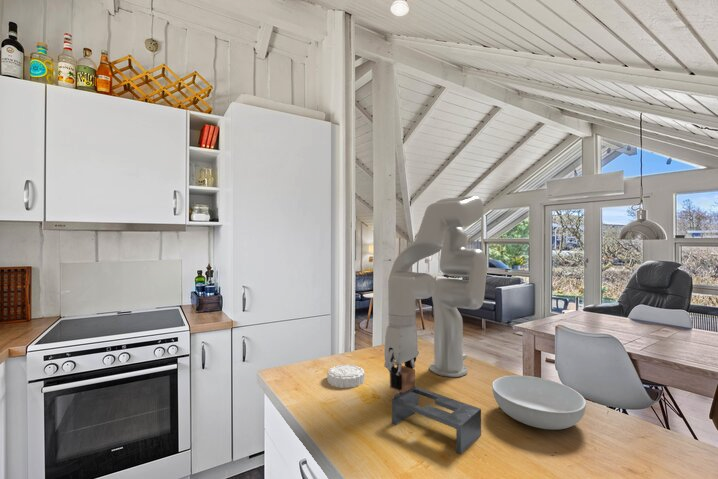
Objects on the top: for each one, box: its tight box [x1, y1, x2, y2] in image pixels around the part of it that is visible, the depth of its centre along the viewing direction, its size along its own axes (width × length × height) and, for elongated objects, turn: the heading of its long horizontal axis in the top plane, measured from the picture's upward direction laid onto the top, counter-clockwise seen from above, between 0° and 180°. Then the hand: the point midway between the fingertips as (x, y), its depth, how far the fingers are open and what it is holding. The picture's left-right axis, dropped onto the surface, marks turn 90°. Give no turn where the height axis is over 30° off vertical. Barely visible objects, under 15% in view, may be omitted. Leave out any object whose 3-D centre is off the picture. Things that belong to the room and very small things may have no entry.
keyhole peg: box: [389, 365, 416, 399], centre depth 95 cm, size 5×5×8 cm
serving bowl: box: [491, 374, 587, 430], centre depth 86 cm, size 21×21×7 cm
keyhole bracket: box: [391, 386, 482, 455], centre depth 81 cm, size 18×10×6 cm, turn 47°
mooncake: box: [326, 364, 366, 389], centre depth 110 cm, size 12×12×4 cm
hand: (402, 384), depth 95 cm, fingers closed on keyhole peg, 5 cm apart
